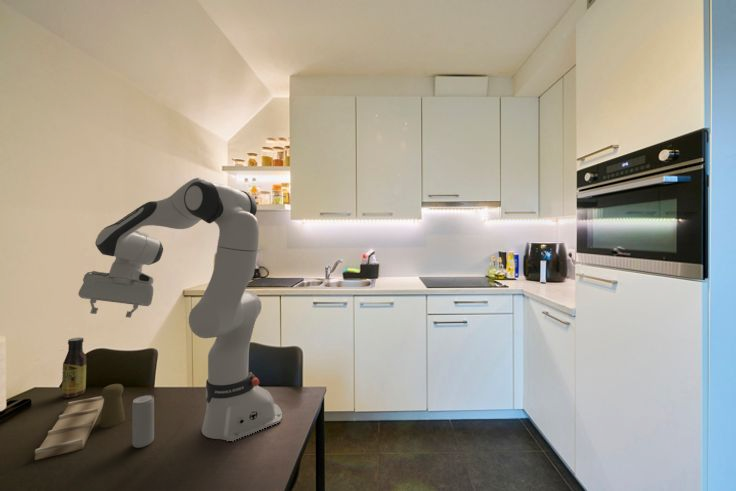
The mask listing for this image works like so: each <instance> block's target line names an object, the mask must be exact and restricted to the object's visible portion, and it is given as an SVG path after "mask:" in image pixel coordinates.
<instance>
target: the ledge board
mask: <svg viewBox="0 0 736 491" xmlns="http://www.w3.org/2000/svg"><path fill="white" fill-rule="evenodd" d="M103 402H104V398H103V397H102V395H101V396H94V397H90V398H85V399H79V400H74V401H69V402H68V403H67V406H66V408H65V409H64V412H62V414H60V415H58V420H57V421H56V422H55V424H54V426H53V427H52V429H51V430H48V432H47V435H46V438H45V439H44V440H43V442H42V443H41V445H40V446H39V448H36V449H35V450H34V461H37V460H42V459H46V458H49V457H54V456H58V455H62V454H67V453H70V452H75V451H79V450H83V449H84V447H85V445H86V443H87V441H88V438H89V436H90V434H91V432H92V431H93V428H94V426H95V423H96V422H97V419H98V418H99V415H100V413H101V412H102V408H103Z"/></svg>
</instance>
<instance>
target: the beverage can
mask: <svg viewBox="0 0 736 491" xmlns="http://www.w3.org/2000/svg"><path fill="white" fill-rule="evenodd" d="M131 409H132V410H131V413H132V414H131V416H132V417H131V418H132V420H131V430H132V431H131V432H132V434H131V439H132V440H131V442H132V443H131V444H132V447H134V448H136V449H140V448H145V447H147V446H148V445H150V444H152V442H153V441H154V439H155V398H154V395H151V394H145V395H142V396H138V397H136V398H134V399H133V401H132V404H131Z"/></svg>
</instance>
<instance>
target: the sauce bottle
mask: <svg viewBox="0 0 736 491" xmlns="http://www.w3.org/2000/svg"><path fill="white" fill-rule="evenodd" d="M83 343H84V337H72V338H69V339H68V341H67V344H68V350H67V354H66V356H65V358H64V361H63V362H62V376H61V378H62V379H61V380H62V381H61V382H62V383H61V394H62V397H63V398H65V399H66V398H67V399H68V398H75V397H78V396H80V395H83V394H84V393H85V392H86V386H87V384H86V383H87V355H86V354H85V352H84V350H83V345H84V344H83Z"/></svg>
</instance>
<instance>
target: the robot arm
mask: <svg viewBox="0 0 736 491" xmlns="http://www.w3.org/2000/svg"><path fill="white" fill-rule="evenodd" d="M257 210H258V205H257V200H256V199H255V197H254V195H252V194H250V193H249V192H246V191H245V190H239V189H237V188H234V187H231V186H229V185H226V184H220V183H215V182H212V181H210V180H209V179H206V178H204V177H195V178H192V179H190V180H189V181H188V182H186V183H185V184H183V185H182V186H181V187H178V189H177V190H176V191H174V192H173V193H172V194H171V195H170V196H168V197H166V198H163V199H160V200H156V201H155V200H154V201H148V202H146V203H143V204H142V205H141V206H139V207H136V209H134V210H133V211H131V212H130V213H127V215H126V216H124V217H122V218H121V219H119V220H118V221H116V222H114V223H112V224H110V225H108V226H106V227H104V228H103V229H102V230H100V232H99V233H98V235H97V237H96V239H95V247H96V248H97V250H98V251H99V252H100V254H102V255H103V256H108V257H115V259H114V261H113V262H112V264H111V266H110V270H109V272H104V271H102V272H101V271H96V270H92V271H89V272H86V273H85V274H84V276H83V279H82V281H83V283H82V284H81V287H80V288H79V290H78V296H79V298H80V299H85V300H89V303H90V306H91V310H90V311H89V312H90V314H92V315H96V314H97V313H98V310H99V308H98V307H95V304H96V303H97V301H102V302H110V303H116V304H118V303H119V304H126V305H132V309H131V310H130V311H128V310H127V312H126V314H125V318H130V319H131V318H132V315H133V313H134V312H135V311H136V310H138V307H139V306H142V307H149V306H150V305H152V302H153V296H154V286H153V284H154V281H155V280H154V278H153V276H150V275H148V274H146V273H144V272H142V271H143V266H144V265H146V266H150V265H153V264H155V263H158V262H159V261H160V260H161V258H162V256H163V253H164V246H163V244H162V242H161V241H160V240H158V239H156V238H154V237H150V236H149V234H147V233H145V232H142V231H140V230H139V229H141V228H143V227H147V226H156V227H165V228H169V229H173V230H187V229H191V228H192V227H193V226H195V225H197V224H198V223H199V222H200V221H204V222H205V223H207V224H212V223H215V224H216V225H217V226H218V228H219V229H218V230H219V235H218V240H217V247H216V251H215V252H216V253H215V260H214V266H213V270H212V274H211V277H210V279H209V282H208V285H207V286H206V289H205V291H204V293H203V295H202V297H201V298H200V299H199V301H198V302H197V303H196V305H194V306H193V308H191V310H190V312H189V316H188V324H189V328H190V330H191V331H192V333H193V334H194V335H195V336H197V337H198V338H202V339H212V338H215V341H214V342H213V344H212V346H211V348H210V350H209V351H208V355H207V379H206V383H205V400H206V409H205V415H204V419H203V423H202V426H201V433H202V435H203V436H204V437H206V438H210V439H214V440H215V439H216V440H224V441H225V440H226V442H228V441H232V442H235V441H237V440H236V439H238V440H240V439H242V438H241V437H243V438H245V437H244V436H246V437H248V436H250V434H251V435H253V434H255V432H256V433H258V432H260V431H259V430H261V431H263V430H265V429H264V428H266V429H268V428H267V427H269V426H271V425H274V424H276V425H278V424H277V423H279V422H280V421H281V422H282V420H283V412H282V410H281V407H280V406H279V405H278V404H277V403H275V402H274V398H273V396H272V394H271V392H269V391H268V390H267V389H266V388H263V387H262V386H259V384H260V380H259V378H258V377H256V376H255V374H254V373H253V372H251V371H250V372H249V361H250V359H249V357H250V356H249V355H250V354H249V353H250V346H251V345H250V344H251V340H252V336H253V332H254V328H255V325H256V321H257V319H258V317H259V315H260V313H261V312H262V301H261V299H260V297H259V296H258V295H257V294H256V293H254V292H252V291H247V290H246V288H247V287H248V285H249V283H250V282H251V281H252V279H253V277H254V276H255V270H256V264H257V263H256V262H257V254H258V248H259V239H260V238H259V235H260V233H259V221H258V218H257V217H256V214H257ZM138 230H139V231H138ZM281 419H282V420H281ZM281 422H280V423H281ZM280 423H279V424H280ZM274 426H275V425H274ZM271 427H272V426H271ZM269 428H270V427H269ZM262 429H263V430H262ZM257 431H258V432H257ZM252 433H253V434H252ZM247 435H248V436H247ZM239 438H240V439H239ZM234 440H235V441H234Z"/></svg>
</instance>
